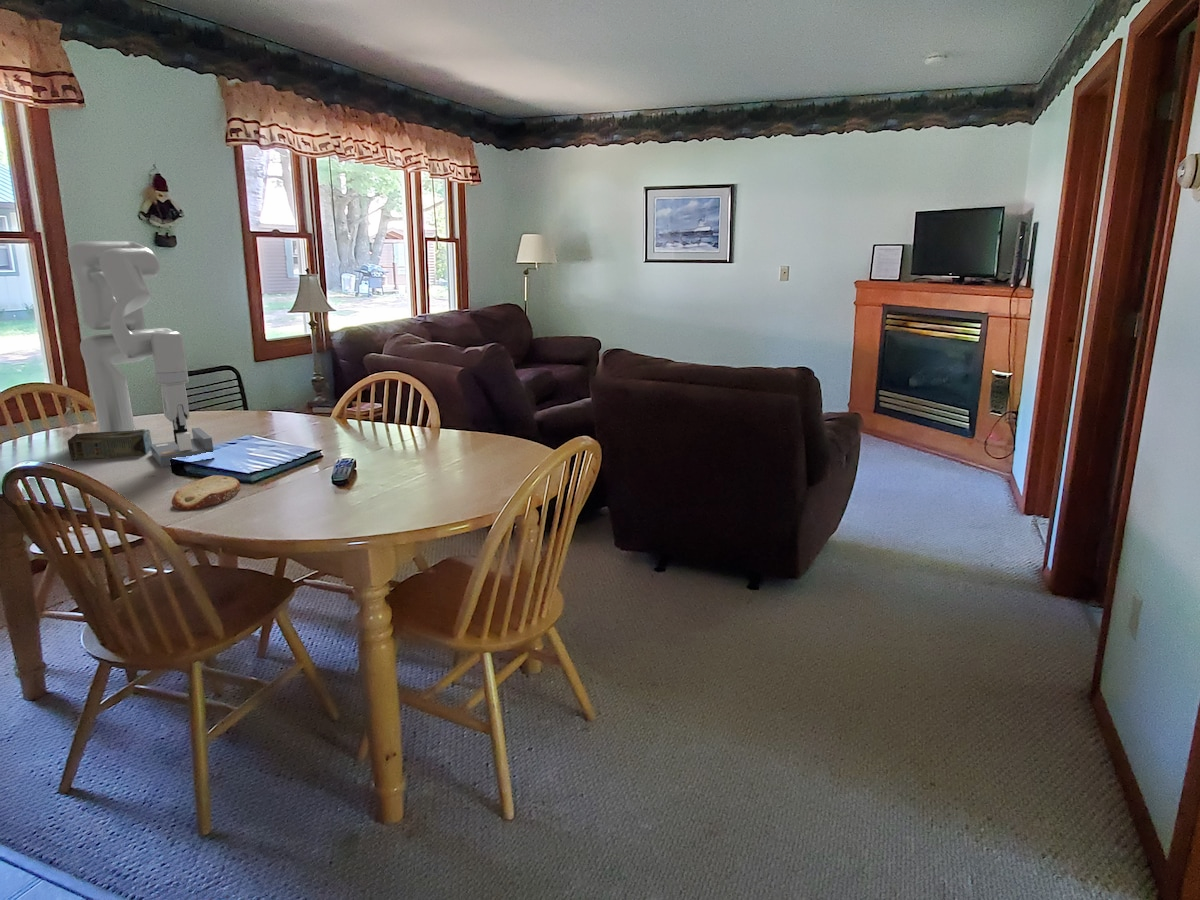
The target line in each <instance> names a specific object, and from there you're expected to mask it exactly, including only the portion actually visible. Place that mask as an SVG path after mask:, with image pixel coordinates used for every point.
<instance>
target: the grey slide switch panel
mask: <svg viewBox="0 0 1200 900" xmlns="http://www.w3.org/2000/svg"><path fill="white" fill-rule="evenodd" d="M191 434H192V438H191V444H192V449H191V450H184V451H179V450H178V445H177V444H176V443H175V440H174V441H168V442H167V441H166V442H159V443H152V445H150V446H151V450H150V451H151V456H152V457H153V458H154V459H155V461H156V462H157V463H158V464H159V466H160V467H161V468H167V467H171V466H170V460H171V459H172V458H176V457H186V456H192V455H197V454H201V453H206V452H213V451H214V444H213V438H212V437H211V436H210V435H209V434H208V433H206V432H205V430H203V429H202V428H200V427H194V428H193V427H192V428H191Z"/></svg>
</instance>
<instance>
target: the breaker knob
mask: <svg viewBox="0 0 1200 900" xmlns="http://www.w3.org/2000/svg"><path fill="white" fill-rule="evenodd" d="M176 437H177V444H178V450H179V451H184V450H191V449H192V444H191V439H192V437H191V433H190V432H189V431H188V432H182V433H176Z"/></svg>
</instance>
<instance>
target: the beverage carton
mask: <svg viewBox="0 0 1200 900" xmlns="http://www.w3.org/2000/svg"><path fill="white" fill-rule="evenodd" d="M152 444H153V442H152V437H151V431H150V429H145V428H144V429H143V428H142V429H140V430H133V431H114V432H99V431H98V432H97V431H96V432H82V433H75V434H74V435H73V436H71V437H70V438H68V440H67V446H68V452H69V457H70V460H71V461H77V460H76V459H83V460H91V459H90V458H96V459H106V457H110V458H120V457H119V456H123V457H132V456H134V455H135V456H144V454H146V455H148V454H149V452H150V451H151V446H150V445H152ZM103 457H104V458H103ZM73 459H74V460H73Z"/></svg>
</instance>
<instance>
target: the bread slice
mask: <svg viewBox="0 0 1200 900" xmlns="http://www.w3.org/2000/svg"><path fill="white" fill-rule="evenodd" d="M241 488H242V487H241V483H240V481H239V480H238V479H237V478H236V477H232V476H227V475H219V474H217V475H210V476H207V477H203V478H200V479H198V480H196V481H193V482H191V483H189V484H187V485H186V486H183V487H181V488H178V489H177V490H175V491H176V492H175V493H174V494H173V497H172V499H171V505H172V506H173V508H175V509H177V510H178V511H180V512H189V511H199V510H202V509H204V508H208V507H212V506H216V505H219V504H222V503H225V502H227V501H228V500H230V499H232V498H234V497H235V496H237V494H238V493H240V491H241V490H242V489H241Z"/></svg>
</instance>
